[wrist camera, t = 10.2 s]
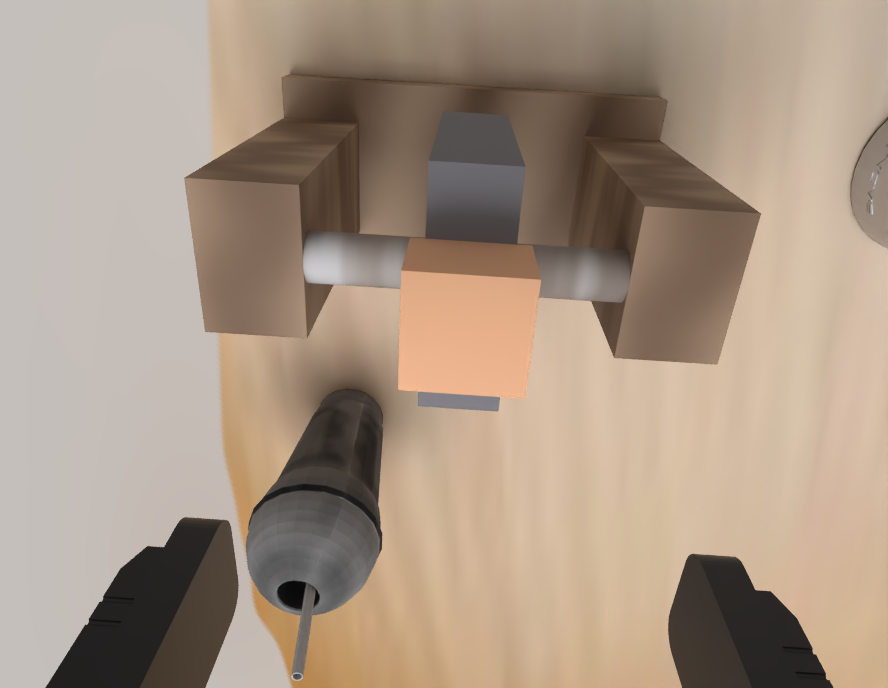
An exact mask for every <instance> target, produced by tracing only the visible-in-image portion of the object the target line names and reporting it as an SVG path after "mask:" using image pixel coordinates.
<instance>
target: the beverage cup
mask: <svg viewBox="0 0 888 688" xmlns="http://www.w3.org/2000/svg"><path fill="white" fill-rule="evenodd" d="M382 422H383V414H382V412H381V409H380V406H379V405H378V404H377V403H376V401H375V400H374V399H373V398H371V397H370V396H368V395H367V394H365V393H363V392H360V391H357V390H348V389H345V390H340V391H335V392H334V393H332V394H330V395H328V396H327V397H326V398H325V399H324V400H323V402H322V403H321V406H320V407H319V408H318V410H317V411H316V412H315V413H314V415H313V417H312V419H311V421H310V422H309V424H308V426H307V428H306V430H305V431H304V433H303V435H302V437H301V439H300V441H299V442H298V444H297V446H296V448H295V450H294V451H293V453H292V455H291V457H290V459H289V460H288V462H287V464H286V466H285V468H284V469H283V471H282V473H281V475H280V477H279V478H278V480H277V482H276V483H275V484H274V485H273V486H272V487H271V488H270V490H269V491H268V492H267V494H266V495H265V496H264V497H263V499H262V500H261V501H260V502H259V503H258V504H257V505H256V506H255V508H254V509H253V512H252V515H251V518H250V521H249V527H248V530H249V532H248V535H247V541H246V553H247V563H248V570H249V573H250V576H251V578H252V580H253V582H254V583H255V585H256V587H257V589H258V590H259V592H260V594H261V595H263V596H264V597H265V598H266V599H267V600H268V601H269V602H270V603H271V604H272V605H274V606H275V607H277V608H279V609H281V610H283V611H285V612H288V613H292V614H295V615H301V618H300V625H299V631H298V637H297V644H296V650H295V656H294V662H293V669H292V675H291V676H292V679H294V680H295V681H297V680H301V679H302V678H303V676H304V669H305V662H306V655H307V648H308V641H309V634H310V627H311V620H312V615H317V614H323V613H327V612H329V611H332V610H334V609H336V608H338V607H340V606H342V605H344V604H345V603H346V602H347V601H348V600H350V599H351V598H352V597H353V596H354V595H355V594H356V593H357V592H359V591H360V590H361V588H362V587H363V586H364V584H365V583H366V581H367V579H368V577H369V575H370V573H371V571H372V569H373V567H374V565H375V563H376V560H377V558H378V556H379V554H380V552H381V550H382V532H381V529H380V512H379V507H378V498H379V483H380V468H381V453H382V438H383V427H382Z"/></svg>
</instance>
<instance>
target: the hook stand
mask: <svg viewBox="0 0 888 688" xmlns="http://www.w3.org/2000/svg"><path fill="white" fill-rule="evenodd" d="M282 90H283V106H284V118H283V119H281V120H280V121H278V122H276V123H275V124H273V125H271V126H270V127H268V128H266V129H265V130H263V131H261V132H260V133H258V134H256V135H255V136H253V137H251V138H250V139H248V140H246V141H245V142H243V143H242V144H240V145H238V146H237V147H235V148H233V149H232V150H230V151H228V152H227V153H225V154H223V155H222V156H220V157H218V158H217V159H215V160H213V161H212V162H210V163H208V164H207V165H205V166H203V167H202V168H200V169H199V170H197V171H195V172H193V173H192V174H190V175H188V176H187V177H185V178H184V179H185V186H186V194H187V201H188V209H189V216H190V223H191V231H192V238H193V245H194V253H195V260H196V267H197V275H198V282H199V289H200V296H201V304H202V311H203V319H204V326H205V332H217V333H232V334H248V335H263V336H279V337H295V338H307V337H308V335H309V333H310V331H311V329H312V327H313V325H314V323H315V321H316V319H317V317H318V315H319V313H320V311H321V309H322V307H323V305H324V303H325V301H326V299H327V297H328V295H329V293H330V291H331V289H332V287H333V285H348V286H364V287H379V288H395V289H401V269H402V265H403V261H404V258H405V254H406V250H407V247H408V243H409V239H410V238H424V239H425V233H426V210H427V187H428V164H429V158H430V154H431V151H432V147H433V144H434V140H435V137H436V133H437V130H438V126H439V123H440V119H441V116H442V112H443V111H450V112H465V113H481V114H497V115H508V117H509V120H510V123H511V125H512V128H513V131H514V134H515V137H516V140H517V143H518V146H519V149H520V152H521V154H522V157H523V160H524V163H525V166H526V170H525V179H524V188H523V196H522V205H521V214H520V223H519V232H518V241H517V245H531V246H533V250H534V254H535V258H536V261H537V265H538V269H539V273H540V277H541V285H540V293H539V298H554V299H569V300H585V301H591V302H592V304H593V307H594V309H595V312H596V314H597V316H598V319H599V321H600V324H601V326H602V329H603V331H604V334H605V336H606V339H607V341H608V344H609V346H610V349H611V351H612V353H613V356H614V358H623V359H639V360H655V361H670V362H686V363H702V364H718V360H719V357H720V353H721V350H722V346H723V343H724V340H725V336H726V333H727V329H728V326H729V322H730V319H731V315H732V312H733V308H734V305H735V301H736V298H737V295H738V291H739V288H740V284H741V281H742V277H743V274H744V270H745V267H746V263H747V260H748V257H749V253H750V250H751V246H752V243H753V239H754V236H755V232H756V229H757V225H758V222H759V218H760V215H761V213H759V212H758V211H757V210H755V209H754V208H752V207H751V206H750V205H748V204H747V203H746V202H744V201H743V200H741V199H740V198H739V197H737V196H736V195H734V194H733V193H732V192H730V191H729V190H727V189H726V188H725V187H723V186H722V185H721V184H719V183H718V182H716V181H715V180H714V179H712V178H711V177H709V176H708V175H707V174H705V173H704V172H702V171H701V170H700V169H698V168H697V167H696V166H694V165H693V164H691V163H690V162H689V161H687V160H686V159H684V158H683V157H682V156H680V155H679V154H677V153H676V152H675V151H673V150H672V149H670V148H669V147H668V146H666V145H665V144H664V143H662V142H661V141H660V136H661V131H662V126H663V121H664V117H665V112H666V107H667V102H668V101H667V100H665V99H663V98H661V97H651V96H634V95H618V94H601V93H585V92H568V91H552V90H535V89H518V88H502V87H485V86H469V85H452V84H436V83H419V82H402V81H386V80H369V79H353V78H336V77H319V76H303V75H287V76H284V77H282Z"/></svg>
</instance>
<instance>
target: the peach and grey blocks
mask: <svg viewBox="0 0 888 688" xmlns="http://www.w3.org/2000/svg"><path fill="white" fill-rule="evenodd" d="M525 170H526V166H525V163H524V160H523V157H522V154H521V152H520V149H519V146H518V143H517V140H516V137H515V134H514V131H513V128H512V125H511V123H510V120H509V117H508V115H497V114H481V113H465V112H450V111H443V112H442V116H441V119H440V123H439V126H438V130H437V133H436V137H435V140H434V144H433V147H432V151H431V154H430V158H429V164H428V187H427V210H426V233H425V239H424V238H410V239H409V243H408V247H407V250H406V254H405V258H404V261H403V265H402V269H401V291H400V329H399V367H398V390H403V391H418V392H419V394H418V406H425V407H440V408H454V409H469V410H484V411H498V409H499V401H500V397H507V398H522V399H525V397H526V389H527V382H528V375H529V367H530V360H531V352H532V345H533V337H534V330H535V322H536V315H537V308H538V300H539V293H540V285H541V277H540V273H539V269H538V265H537V261H536V258H535V254H534V250H533V246H531V245H517V241H518V232H519V223H520V214H521V205H522V196H523V188H524V179H525Z"/></svg>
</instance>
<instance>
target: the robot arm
mask: <svg viewBox="0 0 888 688" xmlns="http://www.w3.org/2000/svg"><path fill="white" fill-rule="evenodd" d="M851 203H852V207H853V212H854V216H855V218H856V220H857V222H858V223H859V225H860V227H861V229H862V230H863V231H864V232H865V233H866V234H867V235H868V236H869V237H870V238H871V239H872V240H874V241H875V242H877V243H879V244H880V245H882V246H884V247H886V248H887V249H888V120H887V121H886V122H885V123H884V124H883V125H882V126H881V127H880V128H879V129H878V130H877V132H876V133H875V134H874V135H873V137H872V138H871V140H870V141H869V143H868V144H867V146H866V147H865V149H864V150H863V152H862V155H861V157H860V159H859V161H858V163H857V166H856V168H855V172H854V177H853V181H852V185H851ZM237 597H238V575H237V569H236V561H235V553H234V546H233V539H232V532H231V526H230V523H229V522H228V521H227V520H216V519H202V518H187V517H185V518H183V519H181V520H180V521H179V523H178V524H177V526H176V528H175V529H174V531H173V533H172V534H171V536H170V538H169V540H168V541H167V543H166V545H165V547H151V546H147V547H146V548H145V549H143V550H142V551H141V552H140V553H139V554H138V555H136V556H135V557H134V558H133V559H132V560H130V561H129V562H128V563H127V564H126V565H125V566H123V567H122V568H121V569H120V570H119V572H118V574H117V575H116V577H115V578H114V580H113V582H112V583H111V585H110V587H109V588H108V590H107V591H106V593H105V594H104V596H103V601H102V602H99V604H98V605H97V607H96V609H95V610H94V612H93V613H92V615H91V617H90V618H89V623H88V625H85V626H84V628H83V629H82V631H81V633H80V634H79V636H78V637H77V639H76V640H75V642H74V644H73V645H72V647H71V648H70V650H69V651H68V653H67V655H66V656H65V658H64V660H63V661H62V663H61V664H60V666H59V667H58V669H57V671H56V672H55V674H54V675H53V677H52V678H51V680H50V682H49V683H48V685H47V686H46V688H205V687H206V684H207V682H208V679H209V677H210V674H211V672H212V669H213V667H214V664H215V662H216V659H217V657H218V654H219V651H220V649H221V647H222V644H223V641H224V639H225V636H226V634H227V631H228V629H229V626H230V623H231V621H232V618H233V616H234V612H235V608H236V604H237ZM668 632H669V643H670V648H671V652H672V656H673V659H674V662H675V665H676V669H677V672H678V675H679V679H680V682H681V685H682V688H833V686H832V684H831V682H830V681H829V680H827V679H826V673H825V671H824V669H823V667H822V665H821V663H820V662H819V660H818V658H817V656H816V655H815V654H813V652H812V649H813V648H812V646H811V644H810V643H809V641H808V639H807V637H806V635H805V633H804V631H803V629H802V627H801V625H800V624H799V622H798V620H797V618H796V617H795V616H794V615H793V614H792V613H791V612H790V611H789V610H788V609H787V608H786V607H785V606H784V605H783V604H782V603H781V602H780V601H779V600H778V599H777V597H776V596H775V595H774V594H773V593H772V592H771V591H757V590H755V589H754V586H753V584H752V582H751V580H750V578H749V576H748V574H747V572H746V570H745V568H744V566H743V564H742V562H741V561H740V560H739V559H738V558H736V557H729V556H714V555H700V554H691V555H689V556H688V558H687V560H686V563H685V566H684V569H683V572H682V575H681V579H680V582H679V585H678V588H677V592H676V595H675V598H674V601H673V604H672V608H671V611H670V615H669V623H668Z"/></svg>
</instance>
